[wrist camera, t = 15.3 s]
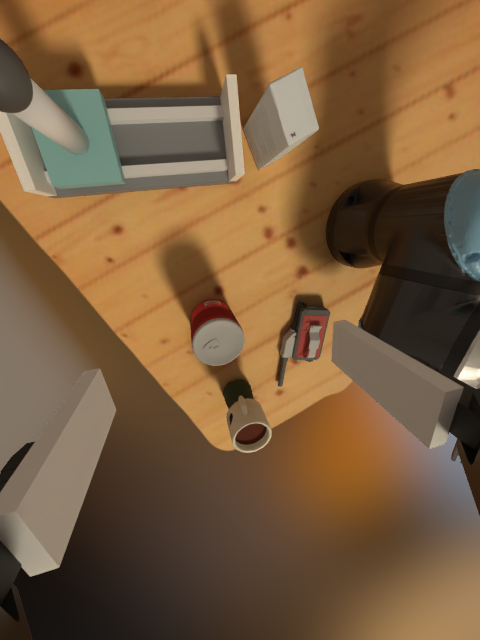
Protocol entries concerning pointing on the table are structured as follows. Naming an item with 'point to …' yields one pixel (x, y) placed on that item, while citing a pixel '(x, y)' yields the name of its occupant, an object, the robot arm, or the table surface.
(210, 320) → the canned food
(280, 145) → the skincare box
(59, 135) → the carriage
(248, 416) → the character mug
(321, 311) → the walkie-talkie
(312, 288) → the table surface
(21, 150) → the rail track
